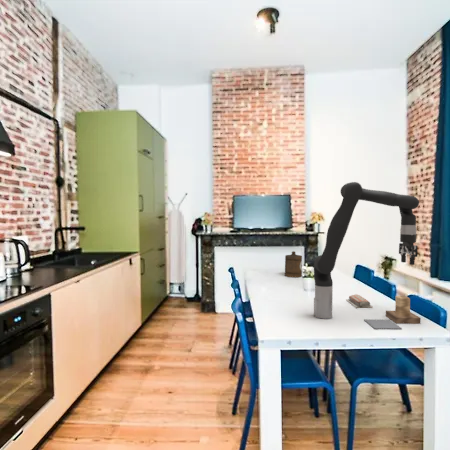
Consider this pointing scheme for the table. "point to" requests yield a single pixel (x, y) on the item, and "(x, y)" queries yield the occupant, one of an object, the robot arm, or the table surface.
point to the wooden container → (293, 265)
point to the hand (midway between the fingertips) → (407, 263)
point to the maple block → (402, 306)
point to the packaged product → (359, 301)
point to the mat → (382, 324)
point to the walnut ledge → (403, 318)
